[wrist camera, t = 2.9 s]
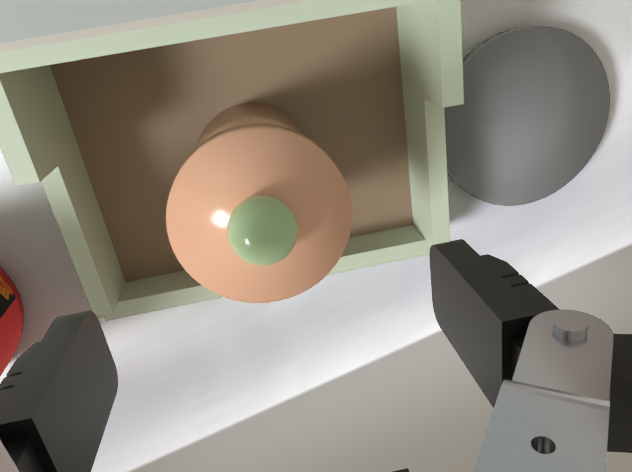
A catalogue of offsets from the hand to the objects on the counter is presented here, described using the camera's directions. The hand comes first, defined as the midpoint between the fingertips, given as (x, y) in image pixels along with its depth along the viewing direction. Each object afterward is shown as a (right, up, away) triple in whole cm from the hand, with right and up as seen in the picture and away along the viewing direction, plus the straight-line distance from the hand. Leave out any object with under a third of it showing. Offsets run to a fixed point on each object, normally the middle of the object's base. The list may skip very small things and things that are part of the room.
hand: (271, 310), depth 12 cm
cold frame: (-2, +6, +12) cm, 13 cm away
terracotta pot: (-2, +5, +11) cm, 12 cm away
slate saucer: (+11, +7, +13) cm, 18 cm away
